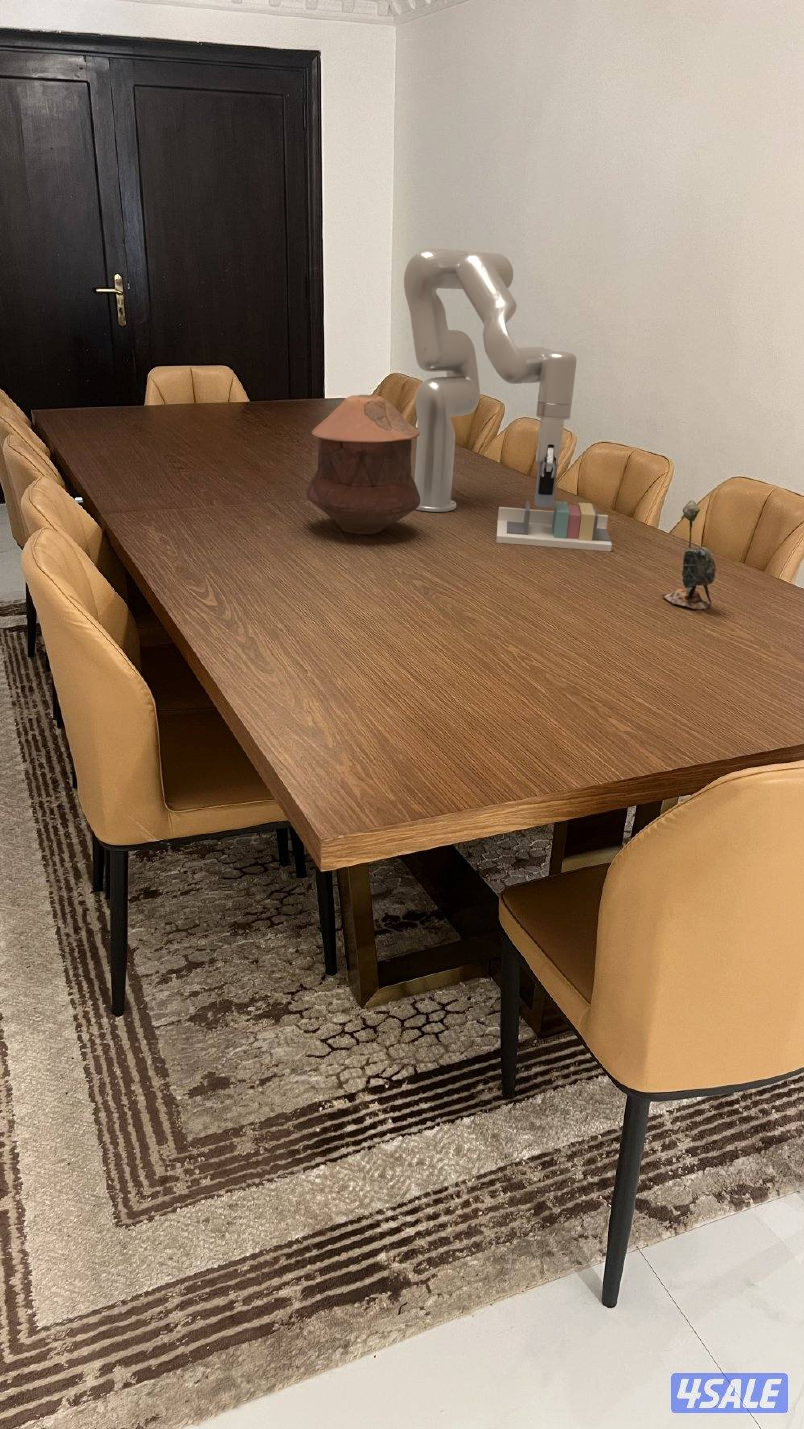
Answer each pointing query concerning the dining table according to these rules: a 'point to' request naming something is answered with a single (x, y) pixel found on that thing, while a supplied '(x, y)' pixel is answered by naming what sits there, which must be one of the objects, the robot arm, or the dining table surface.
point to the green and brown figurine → (694, 570)
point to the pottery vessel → (364, 465)
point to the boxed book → (544, 499)
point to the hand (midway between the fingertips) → (544, 490)
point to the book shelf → (543, 530)
